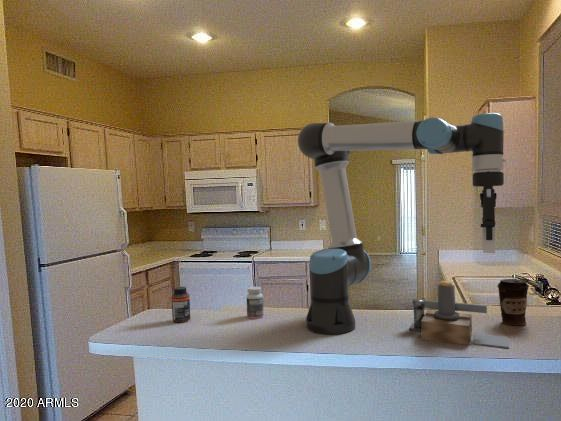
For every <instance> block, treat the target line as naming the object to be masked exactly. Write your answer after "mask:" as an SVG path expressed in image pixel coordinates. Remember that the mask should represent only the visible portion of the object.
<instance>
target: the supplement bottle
mask: <svg viewBox="0 0 561 421" xmlns="http://www.w3.org/2000/svg"><path fill="white" fill-rule="evenodd" d="M173 292H174V293H173V294H172V295H171V313H172V314H171V315H172V316H171V317H172V322H173V323H175V322H184V323H186V322H185V321H187V322H189V321H190V320H191V300H190V293H189V292H188V291H187V287H186V286H176V287H174V288H173ZM188 320H189V321H188Z"/></svg>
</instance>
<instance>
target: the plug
mask: <svg viewBox="0 0 561 421" xmlns="http://www.w3.org/2000/svg"><path fill="white" fill-rule="evenodd" d="M455 289H456V288H455V285H454V284H453V281H449V280H440V281H439V284H437V301H438V309H437V310H434V311H435V317H436V318H438V319H440V320H450V321H455V320H457V319H459V313H460V312H458V311H455V303H456V295H455V294H456V293H455V292H456V291H455Z"/></svg>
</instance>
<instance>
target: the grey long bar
mask: <svg viewBox="0 0 561 421" xmlns="http://www.w3.org/2000/svg"><path fill="white" fill-rule="evenodd" d="M411 303H412V305H411V306H412V308H413V309H414V308H424V309H436V310H438V300H429V299H427V300H426V299H423V298H413V299H412V302H411ZM455 312H469V313H477V314H478V313H479V314H488V305H487V304H477V303H465V302H455Z"/></svg>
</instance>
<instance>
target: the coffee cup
mask: <svg viewBox="0 0 561 421" xmlns="http://www.w3.org/2000/svg"><path fill="white" fill-rule="evenodd" d="M496 286H497V288H498V298H499V307H500V316H501V321H502V324H503V323H504V324H506V325H511V326H525V325H526V324H527V322H526V310H527V307H528V291H529V287H530V285H529V284H528V283H527V281H526V280H524V279H518V278H505V279H500V281H499V283H498V284H497V285H496Z"/></svg>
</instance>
